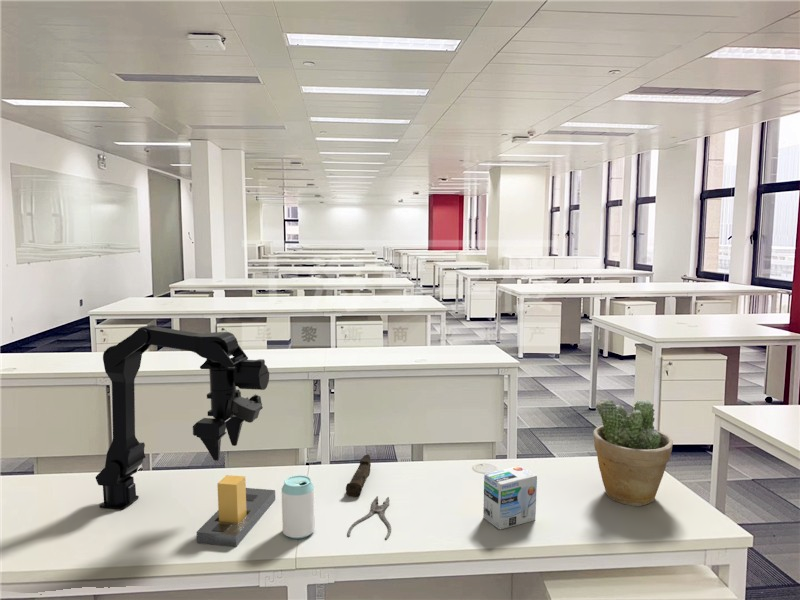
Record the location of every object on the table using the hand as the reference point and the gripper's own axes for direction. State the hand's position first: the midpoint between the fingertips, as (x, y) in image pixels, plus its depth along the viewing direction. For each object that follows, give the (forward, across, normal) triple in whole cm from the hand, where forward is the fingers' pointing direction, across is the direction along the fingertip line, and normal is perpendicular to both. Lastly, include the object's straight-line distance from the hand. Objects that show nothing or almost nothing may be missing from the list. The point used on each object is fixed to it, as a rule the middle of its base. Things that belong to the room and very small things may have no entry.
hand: (225, 452), depth 139 cm
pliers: (+15, +3, -34) cm, 37 cm away
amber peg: (+15, -6, -4) cm, 16 cm away
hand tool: (+15, +22, -27) cm, 38 cm away
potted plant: (+15, +25, -96) cm, 100 cm away
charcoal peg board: (+15, -3, -4) cm, 16 cm away
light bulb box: (+15, +8, -66) cm, 68 cm away
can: (+15, -6, -20) cm, 25 cm away
